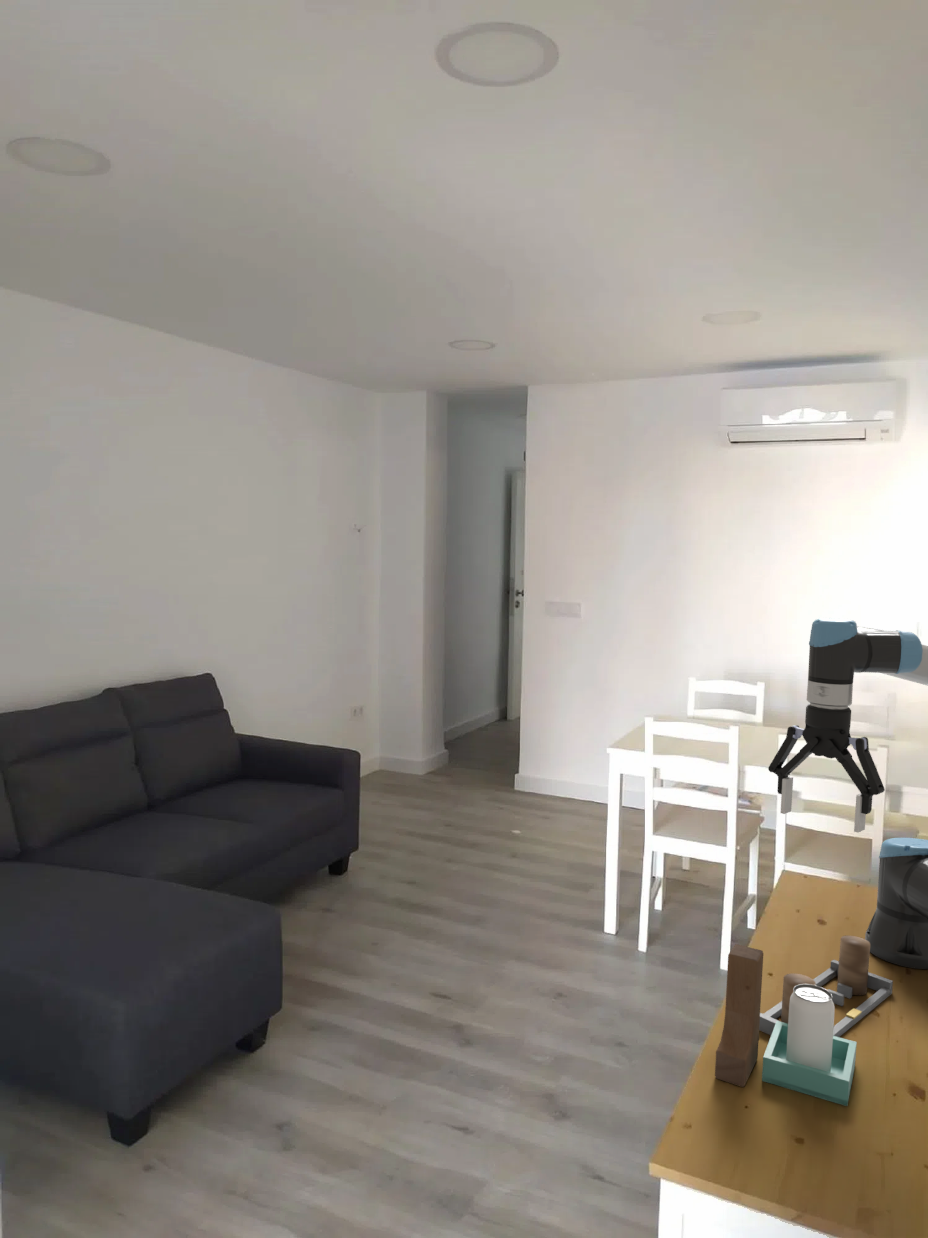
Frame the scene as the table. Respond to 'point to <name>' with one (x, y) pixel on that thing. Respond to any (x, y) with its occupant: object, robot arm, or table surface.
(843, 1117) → the table surface
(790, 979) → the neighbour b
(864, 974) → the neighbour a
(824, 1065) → the can
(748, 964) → the wooden block
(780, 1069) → the tray
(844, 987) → the grey flat open frame
